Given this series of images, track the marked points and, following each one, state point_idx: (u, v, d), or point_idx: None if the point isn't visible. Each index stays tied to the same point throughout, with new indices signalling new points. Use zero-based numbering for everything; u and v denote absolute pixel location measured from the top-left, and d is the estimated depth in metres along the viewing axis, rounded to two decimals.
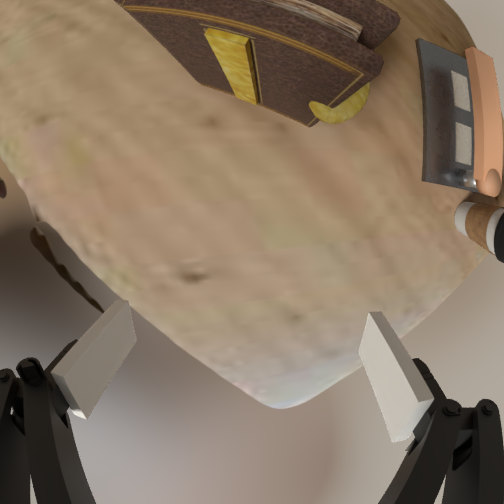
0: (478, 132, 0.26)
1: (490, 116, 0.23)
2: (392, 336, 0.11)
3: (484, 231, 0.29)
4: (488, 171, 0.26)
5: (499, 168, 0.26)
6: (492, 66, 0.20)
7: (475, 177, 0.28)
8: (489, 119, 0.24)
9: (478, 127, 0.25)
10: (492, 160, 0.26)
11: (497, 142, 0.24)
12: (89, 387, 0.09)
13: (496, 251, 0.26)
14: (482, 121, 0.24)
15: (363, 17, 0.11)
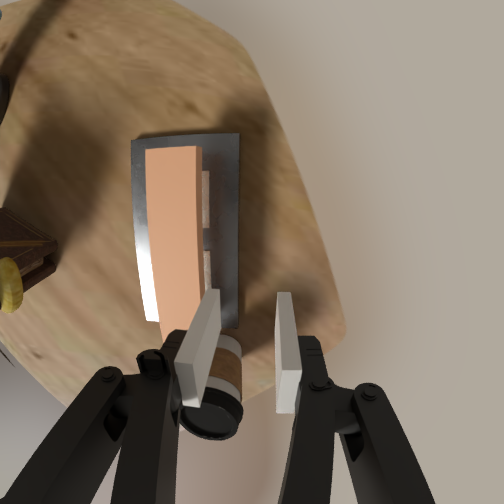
0: None
1: (169, 267, 0.26)
2: (288, 312, 0.13)
3: None
4: None
5: None
6: (189, 166, 0.23)
7: None
8: (166, 272, 0.27)
9: None
10: (178, 325, 0.29)
11: (187, 301, 0.28)
12: (202, 374, 0.11)
13: None
14: None
15: None
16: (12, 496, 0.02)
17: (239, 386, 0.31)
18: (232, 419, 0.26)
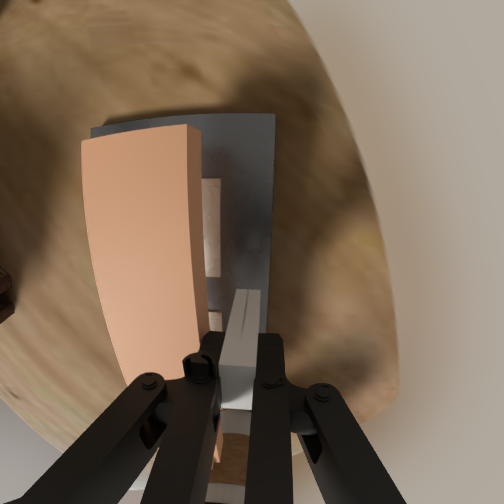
0: None
1: (150, 369, 0.13)
2: (253, 310, 0.13)
3: None
4: None
5: None
6: (173, 173, 0.10)
7: None
8: None
9: None
10: None
11: None
12: None
13: None
14: None
15: None
16: (29, 498, 0.03)
17: None
18: None
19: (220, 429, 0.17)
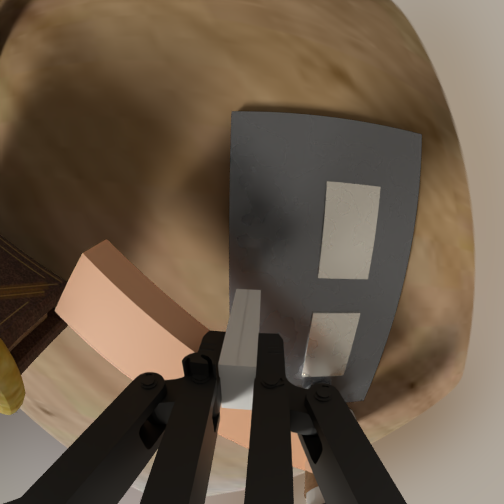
0: None
1: (223, 416, 0.14)
2: (254, 310, 0.13)
3: (305, 491, 0.18)
4: (304, 462, 0.16)
5: None
6: (104, 286, 0.12)
7: None
8: (226, 422, 0.14)
9: None
10: (301, 451, 0.15)
11: None
12: None
13: None
14: None
15: None
16: (29, 497, 0.03)
17: None
18: None
19: None
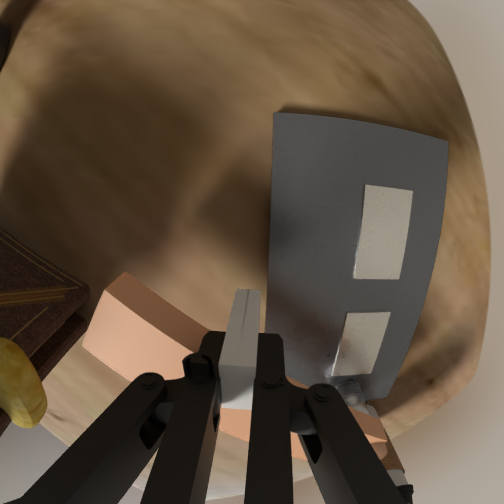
0: None
1: None
2: (253, 310, 0.13)
3: None
4: None
5: None
6: (130, 319, 0.12)
7: None
8: None
9: None
10: None
11: None
12: None
13: None
14: None
15: None
16: (29, 498, 0.03)
17: None
18: None
19: (366, 416, 0.17)
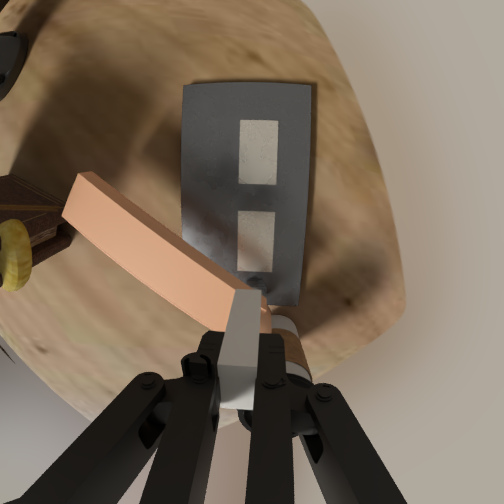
0: None
1: (154, 269, 0.24)
2: (254, 310, 0.13)
3: None
4: None
5: None
6: (88, 188, 0.21)
7: None
8: (157, 276, 0.24)
9: None
10: (218, 310, 0.25)
11: (196, 281, 0.24)
12: None
13: None
14: (158, 292, 0.25)
15: None
16: (29, 497, 0.03)
17: (309, 371, 0.27)
18: None
19: (247, 287, 0.26)
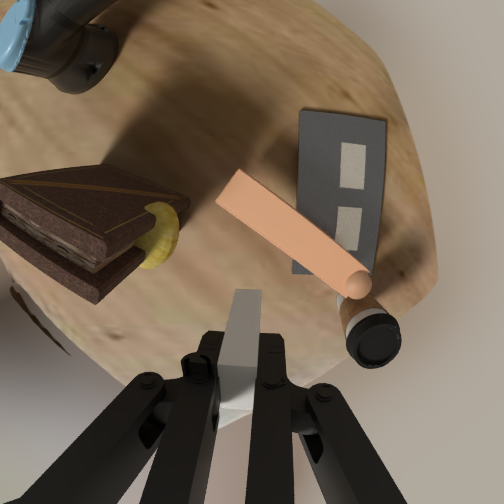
0: None
1: (299, 244, 0.34)
2: (254, 310, 0.13)
3: (344, 330, 0.38)
4: (344, 286, 0.36)
5: (353, 265, 0.35)
6: (248, 181, 0.32)
7: None
8: (301, 249, 0.34)
9: None
10: (340, 273, 0.35)
11: (329, 252, 0.34)
12: None
13: None
14: (298, 261, 0.35)
15: None
16: (29, 497, 0.03)
17: None
18: (399, 338, 0.32)
19: (354, 257, 0.36)
